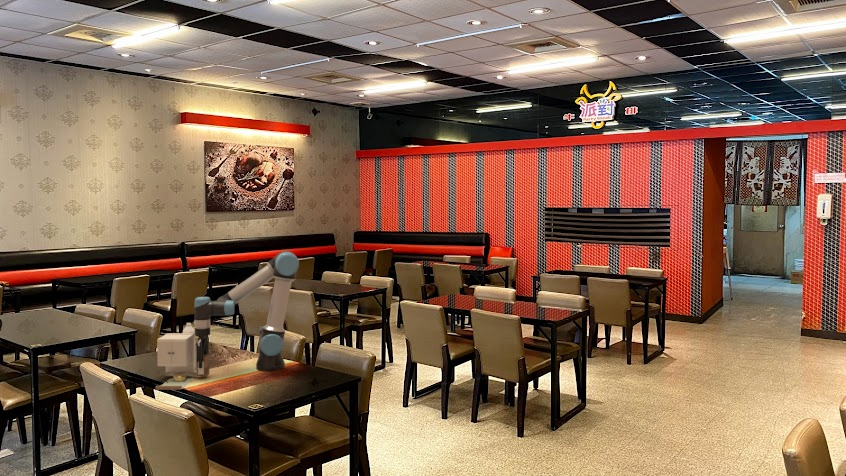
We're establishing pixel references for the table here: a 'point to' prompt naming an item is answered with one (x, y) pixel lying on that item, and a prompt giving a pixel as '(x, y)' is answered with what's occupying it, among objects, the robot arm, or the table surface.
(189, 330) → the water bottle
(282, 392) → the table surface
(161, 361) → the wall cabinet
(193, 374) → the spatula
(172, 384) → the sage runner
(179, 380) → the brass puck
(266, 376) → the table surface
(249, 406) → the table surface
